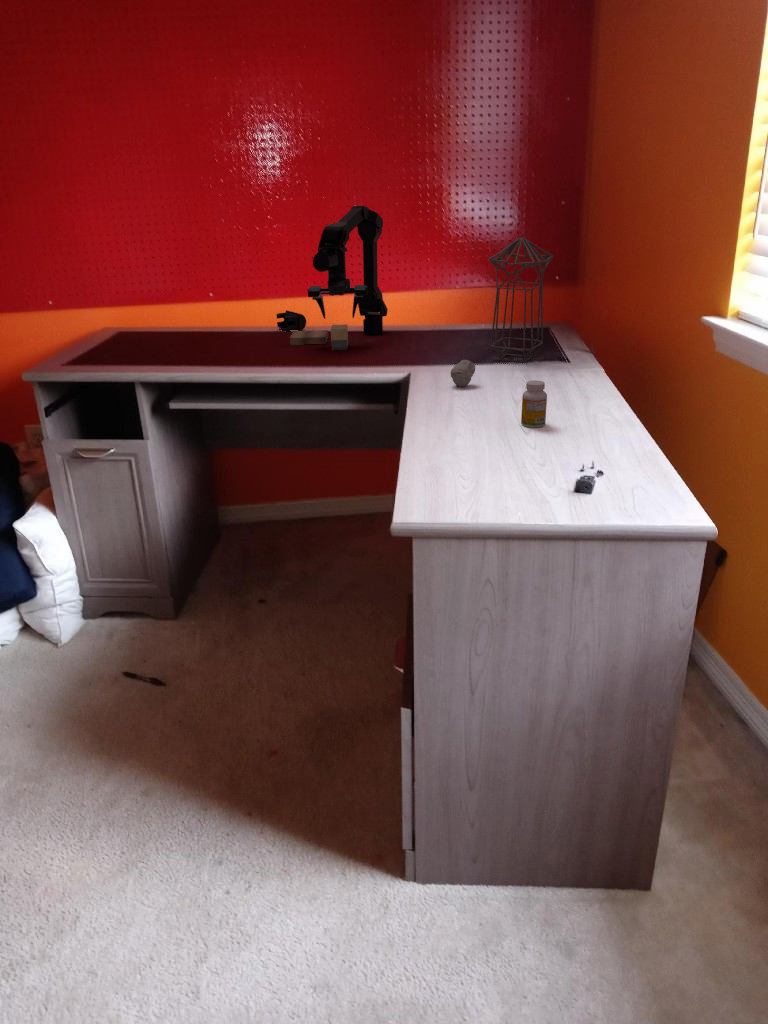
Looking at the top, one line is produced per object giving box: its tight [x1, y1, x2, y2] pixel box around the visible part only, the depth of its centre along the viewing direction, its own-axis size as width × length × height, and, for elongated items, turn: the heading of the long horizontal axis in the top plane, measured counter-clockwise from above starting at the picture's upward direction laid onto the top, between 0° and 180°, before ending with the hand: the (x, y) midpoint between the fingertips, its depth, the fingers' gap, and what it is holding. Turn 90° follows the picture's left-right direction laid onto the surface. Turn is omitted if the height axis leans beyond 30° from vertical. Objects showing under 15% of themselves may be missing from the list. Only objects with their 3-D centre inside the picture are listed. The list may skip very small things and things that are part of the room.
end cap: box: [276, 310, 307, 332], centre depth 285 cm, size 10×7×7 cm
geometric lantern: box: [487, 237, 554, 363], centre depth 230 cm, size 16×16×35 cm
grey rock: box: [450, 359, 476, 388], centre depth 208 cm, size 6×7×7 cm
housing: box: [330, 324, 349, 351], centre depth 256 cm, size 5×8×7 cm, turn 0°
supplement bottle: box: [520, 379, 548, 429], centre depth 175 cm, size 5×5×10 cm
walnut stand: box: [289, 329, 329, 346], centre depth 268 cm, size 12×12×2 cm
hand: (338, 318), depth 253 cm, fingers open, 9 cm apart
